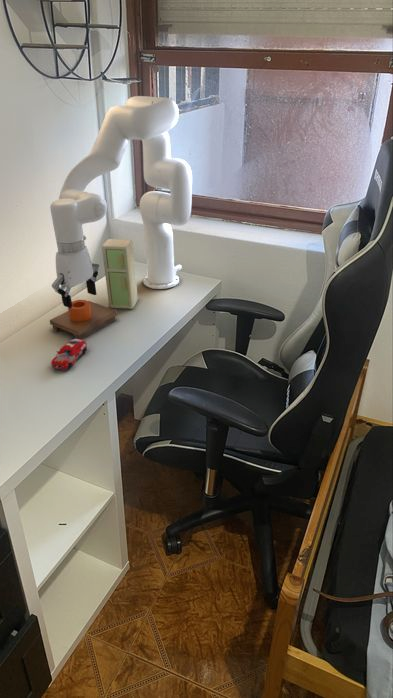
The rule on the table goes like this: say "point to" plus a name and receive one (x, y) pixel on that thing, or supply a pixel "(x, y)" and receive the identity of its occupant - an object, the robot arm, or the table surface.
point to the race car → (69, 354)
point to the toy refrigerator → (120, 273)
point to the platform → (85, 328)
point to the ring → (80, 310)
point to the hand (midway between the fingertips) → (80, 300)
